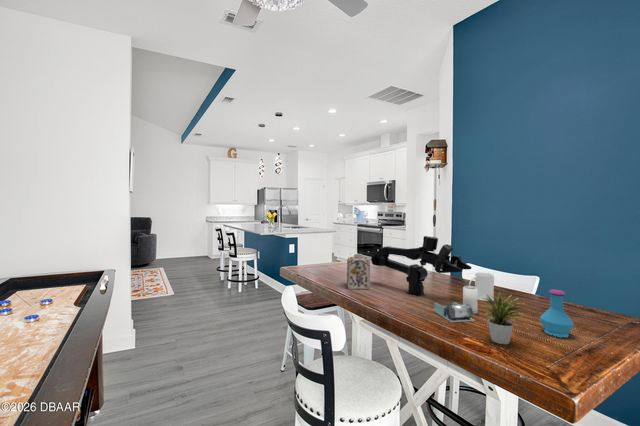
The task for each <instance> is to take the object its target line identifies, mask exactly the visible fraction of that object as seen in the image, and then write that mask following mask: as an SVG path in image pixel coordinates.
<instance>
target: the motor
mask: <svg viewBox="0 0 640 426" xmlns="http://www.w3.org/2000/svg"><path fill="white" fill-rule="evenodd" d="M432 311H433V312H434V313H436V314H437V315H439V316H441V317H442V318H444V319H446V320H447V321H449V322H450V323H461V322H462V323H463V322H464V323H465V322H475V319H474V318H472V317H473V315H474V314H473V311H472V308H471V306H470V305H469V304H464V305H463V304H460V303H458V302H457V301H452V304H447V305H441V304H440V303H438V302H434V303H433V309H432Z"/></svg>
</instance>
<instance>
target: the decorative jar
mask: <svg viewBox="0 0 640 426" xmlns="http://www.w3.org/2000/svg"><path fill="white" fill-rule="evenodd" d="M346 260H347V261H346V285H347V288H348V290H370V288H371V262H370V259H369V258H368V257H366V256H363V253H354V254H353V256H350V257H347V259H346Z"/></svg>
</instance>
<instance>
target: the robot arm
mask: <svg viewBox="0 0 640 426" xmlns="http://www.w3.org/2000/svg"><path fill="white" fill-rule="evenodd" d="M438 243H439V238H438V237H437V236H427V235H424V236H423V242H422V246H419V247H414V248H413V247H412V248H402V247H395V246H389V245H388V246H383V247H382V248H381V249H380V250H378V251H377V252H376V253H375V254H373V255H372V256H371V258H370V261H371V262H370V263H371V264H372V265H374V266H378V267H387V268H389V269H392V270H395V271H398V272H400V273H403V274H406V275H407V276H406V278H405V279H406V281H407V283H408V291H407V292H406V294H409V295H413V296H416V297H418V296H422V295H424V294H425V292H424V291H425V290H424V288H425V287H424V284H423V283H424V282H425V280H426V278H427V277H428V270H427V269H426V268H425V267H424V266H426V265H427V264H428V265H432V267H434V271H435V272H436V273H438V274H450V273H462V272H463V270H472V266H471V265H469V264H468V263H466V262H464V261H463V260H462V257H461V255H457V254H456V255H452V256H451V255H450V254H451V253H452V251H454V247H453V245H450V244H449V243H448V244H443V245H442V246H441V248H440V250H439V252H438V253H435V252H434V251H437V249H438ZM390 255H393V256H394V255H395V256H400V257H405V258H407V259H409V260H412V261H416V260H419V264H417V263H415V264H410V265H408V264H405V263H401V262H399V261H396V260H393V259H390V258H389V256H390Z"/></svg>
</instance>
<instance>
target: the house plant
mask: <svg viewBox="0 0 640 426" xmlns="http://www.w3.org/2000/svg"><path fill="white" fill-rule="evenodd" d="M489 296H490V295H489ZM489 296H488V295H487V297H488V298H489V299H488V298H487V297H486V298H487V300H488V301H485V302H486V303H487V304H488V305H489V306H488V305H484V304H483V305H481V307H482V308H484V309H485V310H486V309H487V311H486V312H485V317H488V316H489V317H490V316H492V317H490V318H488V320H487V322H488V327H489V335H490V340H491V341H492V342H494V343H496V344H499V345H509V344H510V343H511V341H510V340H511V337H512V332H513V328H514V322H515V318H516V317H520V318H523V315H525V313H523V312H521V313H520V312H518V311H514V310H522V309H523V310H524V309H525V310H529V308H527V307H524V305H522V304H521V302H518V303H517V302H516V301H517V300H519V299H520V297H517V298H514V299H512V300H511V301H509V300H510V298H511V297H512V296H513V293H511V294H510V295H509V296H508V297H507V298H506V299H504V301H503V297H502V293H501V290H498V294H497V298H495V297H493V298H494V301H495V302H494V301H493V300H492V299H491V298H490V297H489ZM483 299H485V298H483ZM515 302H516V303H515ZM519 305H520V306H521V307H519ZM512 311H513V312H512ZM510 320H512V321H513V322H512V321H510Z"/></svg>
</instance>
